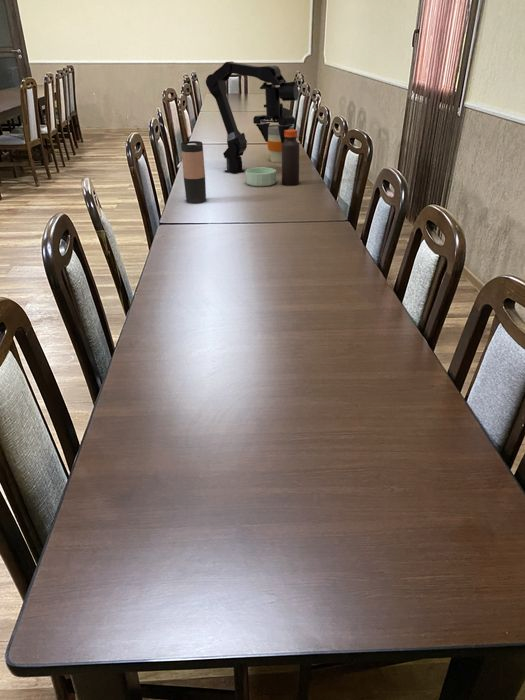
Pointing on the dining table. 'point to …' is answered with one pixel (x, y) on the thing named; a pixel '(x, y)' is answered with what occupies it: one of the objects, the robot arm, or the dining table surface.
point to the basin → (260, 176)
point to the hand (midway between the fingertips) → (274, 142)
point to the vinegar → (290, 158)
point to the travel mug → (193, 171)
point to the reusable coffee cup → (275, 143)
